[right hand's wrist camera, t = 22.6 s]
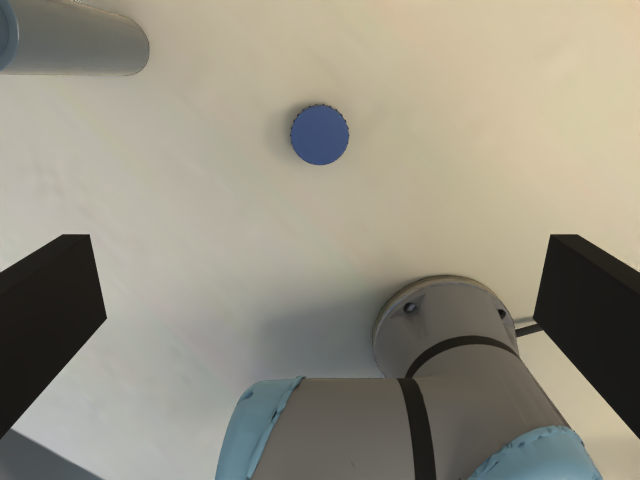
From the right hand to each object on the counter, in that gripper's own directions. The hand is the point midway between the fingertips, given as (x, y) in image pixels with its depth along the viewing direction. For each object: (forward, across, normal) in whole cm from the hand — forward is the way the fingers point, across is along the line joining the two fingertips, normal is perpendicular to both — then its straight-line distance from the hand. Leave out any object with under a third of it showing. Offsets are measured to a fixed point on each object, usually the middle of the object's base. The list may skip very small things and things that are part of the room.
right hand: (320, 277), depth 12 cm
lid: (+28, 0, 0) cm, 28 cm away
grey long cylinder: (+30, +17, -8) cm, 35 cm away
